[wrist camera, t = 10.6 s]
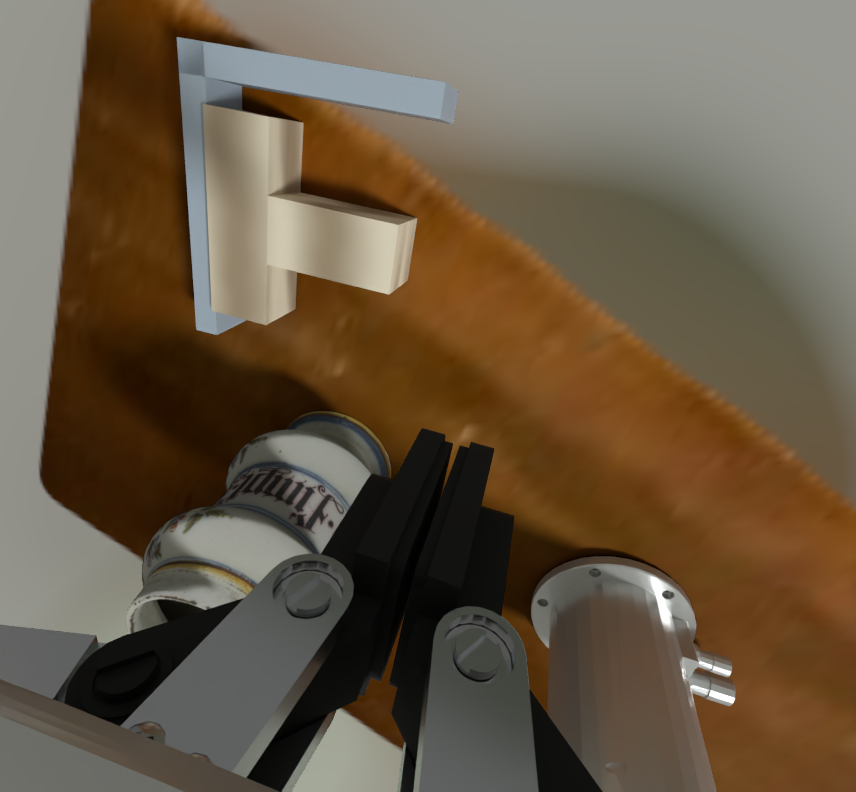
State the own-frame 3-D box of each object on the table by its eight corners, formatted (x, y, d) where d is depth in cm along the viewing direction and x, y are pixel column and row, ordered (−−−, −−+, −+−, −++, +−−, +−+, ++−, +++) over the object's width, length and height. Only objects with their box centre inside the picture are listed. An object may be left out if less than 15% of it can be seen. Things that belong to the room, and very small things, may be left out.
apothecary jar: (390, 537, 42) (291, 759, 26) (267, 494, 44) (102, 679, 28) (418, 424, 36) (311, 620, 21) (275, 378, 38) (73, 529, 22)
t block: (428, 147, 28) (409, 144, 25) (399, 335, 34) (380, 355, 30) (244, 111, 30) (202, 103, 26) (246, 296, 35) (211, 310, 32)
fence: (458, 91, 27) (445, 82, 23) (413, 363, 34) (399, 383, 31) (217, 50, 29) (176, 37, 26) (226, 315, 36) (196, 329, 33)
